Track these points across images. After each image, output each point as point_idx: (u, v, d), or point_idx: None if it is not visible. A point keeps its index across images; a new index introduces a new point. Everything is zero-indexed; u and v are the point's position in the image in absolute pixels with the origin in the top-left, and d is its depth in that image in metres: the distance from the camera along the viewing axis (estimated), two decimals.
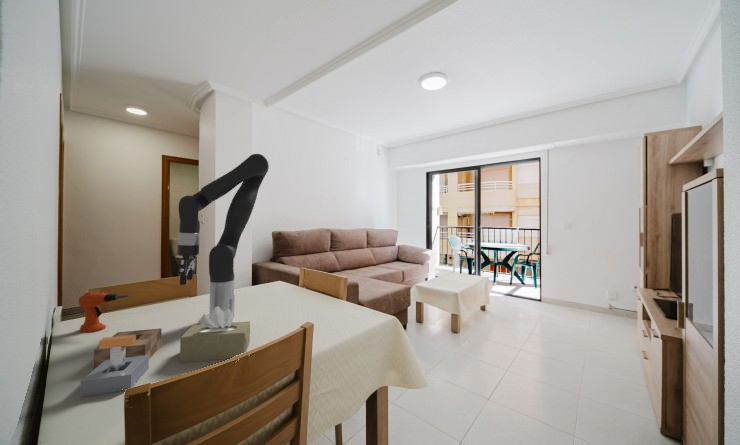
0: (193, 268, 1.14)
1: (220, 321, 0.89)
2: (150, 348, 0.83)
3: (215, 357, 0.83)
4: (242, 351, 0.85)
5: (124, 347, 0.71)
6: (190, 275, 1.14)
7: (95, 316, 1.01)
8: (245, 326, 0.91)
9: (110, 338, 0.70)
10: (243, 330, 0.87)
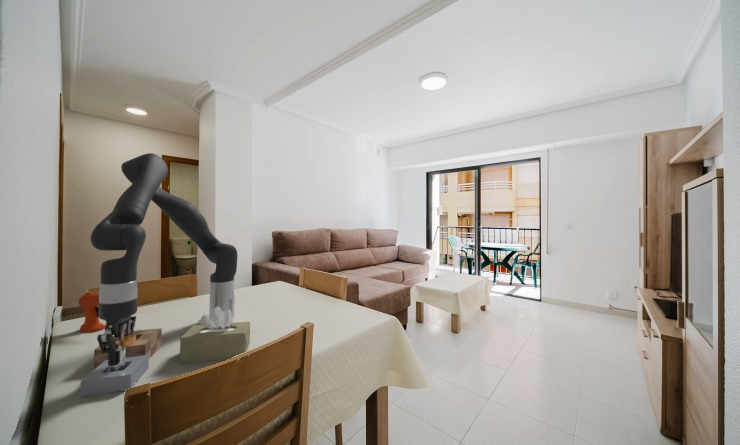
0: None
1: (220, 321, 0.88)
2: (150, 348, 0.83)
3: (215, 357, 0.83)
4: (242, 351, 0.85)
5: (124, 347, 0.71)
6: None
7: (95, 316, 1.01)
8: (245, 326, 0.90)
9: None
10: (243, 330, 0.87)
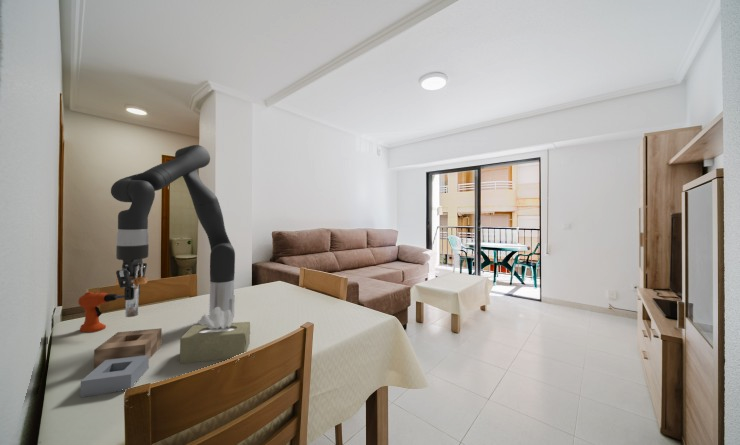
0: None
1: (220, 321, 0.88)
2: (150, 348, 0.83)
3: (215, 358, 0.83)
4: (242, 352, 0.85)
5: (137, 286, 0.83)
6: None
7: (95, 316, 1.01)
8: (245, 326, 0.90)
9: None
10: (243, 330, 0.87)
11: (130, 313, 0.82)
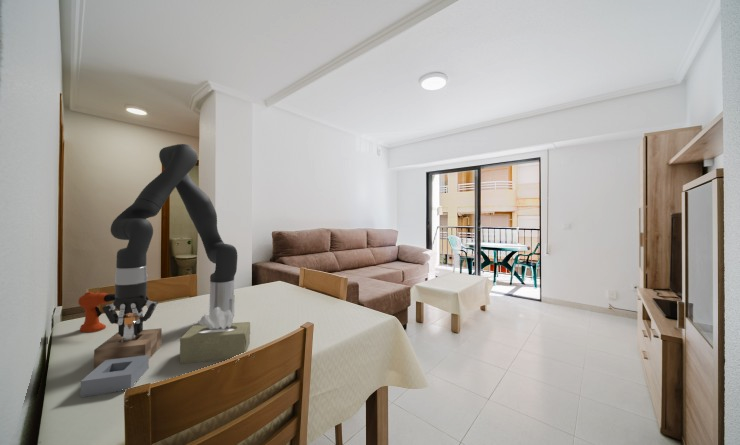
0: (136, 319, 0.83)
1: (220, 322, 0.88)
2: (150, 348, 0.83)
3: (215, 358, 0.83)
4: (242, 352, 0.85)
5: (128, 325, 0.82)
6: None
7: (95, 316, 1.01)
8: (245, 326, 0.90)
9: (131, 313, 0.84)
10: (243, 331, 0.87)
11: None
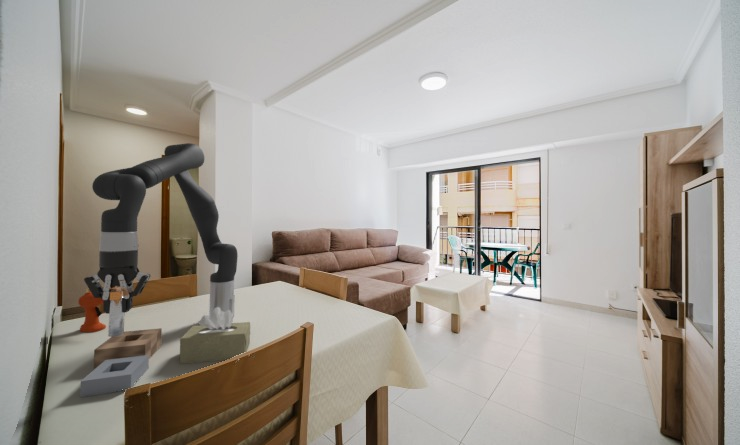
0: (125, 294, 0.70)
1: (220, 322, 0.88)
2: (150, 348, 0.83)
3: (215, 358, 0.83)
4: (242, 352, 0.85)
5: (115, 301, 0.69)
6: None
7: (95, 316, 1.01)
8: (245, 326, 0.90)
9: (119, 288, 0.72)
10: (243, 331, 0.87)
11: (108, 331, 0.69)
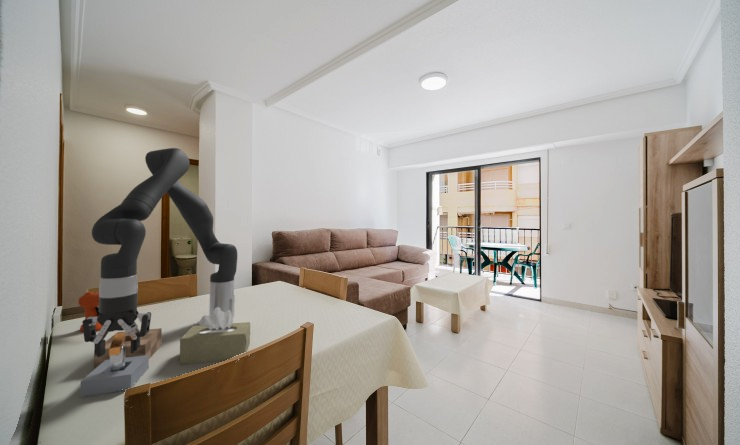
0: (132, 335, 0.71)
1: (220, 322, 0.88)
2: (150, 348, 0.83)
3: (215, 358, 0.83)
4: (243, 352, 0.85)
5: None
6: None
7: (95, 316, 1.01)
8: (246, 326, 0.90)
9: (118, 336, 0.71)
10: (243, 331, 0.86)
11: None
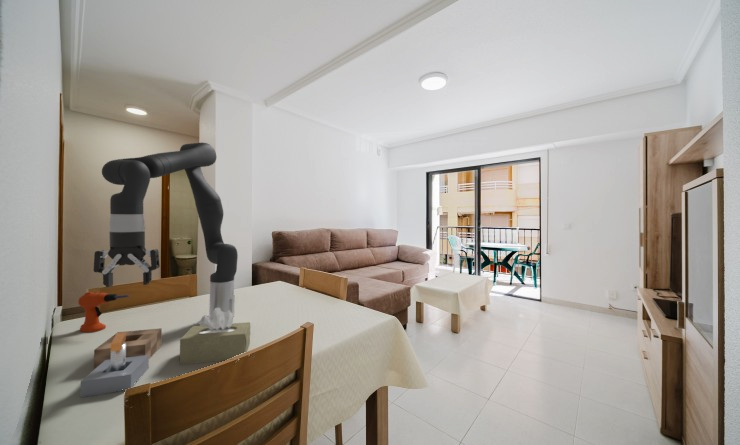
0: (144, 268, 0.77)
1: (220, 322, 0.88)
2: (150, 348, 0.83)
3: (215, 359, 0.83)
4: (243, 352, 0.85)
5: (116, 350, 0.70)
6: None
7: (95, 316, 1.01)
8: (246, 327, 0.90)
9: (120, 335, 0.72)
10: (244, 331, 0.86)
11: None
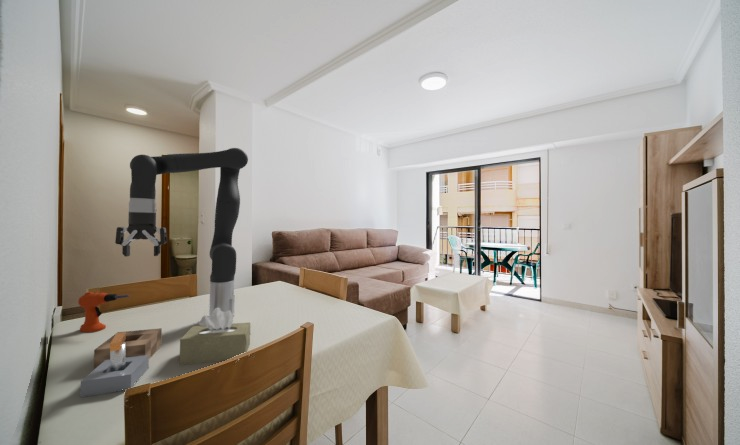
0: (154, 242, 0.95)
1: (220, 322, 0.88)
2: (150, 348, 0.83)
3: (215, 359, 0.83)
4: (243, 352, 0.85)
5: (116, 350, 0.70)
6: None
7: (95, 316, 1.01)
8: (246, 327, 0.90)
9: (119, 335, 0.72)
10: (244, 331, 0.86)
11: None
